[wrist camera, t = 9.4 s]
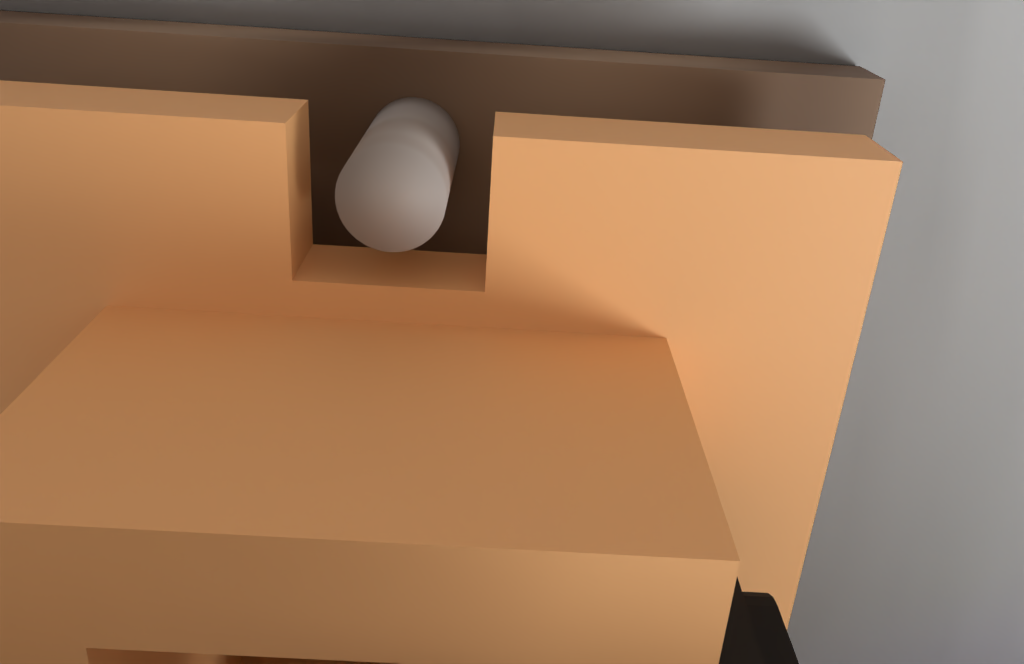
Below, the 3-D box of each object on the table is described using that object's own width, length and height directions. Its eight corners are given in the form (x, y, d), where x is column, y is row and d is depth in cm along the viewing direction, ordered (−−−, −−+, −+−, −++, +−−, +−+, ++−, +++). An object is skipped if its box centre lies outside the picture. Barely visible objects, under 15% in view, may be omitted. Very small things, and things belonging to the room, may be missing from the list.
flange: (65, 746, 16) (-130, 1117, 11) (-72, 75, 11) (-522, 221, 6) (719, 777, 16) (804, 1153, 11) (864, 135, 11) (1121, 317, 6)
